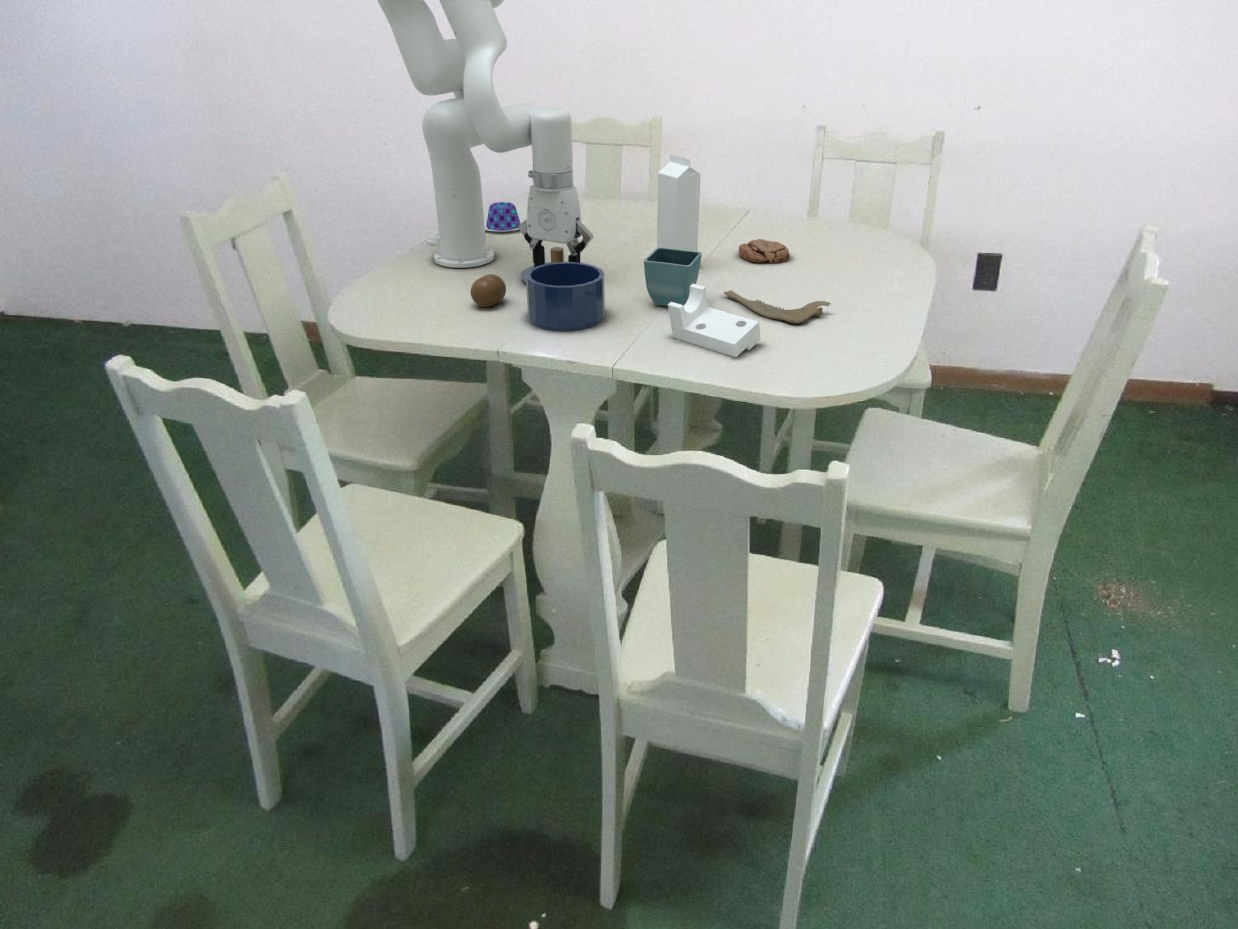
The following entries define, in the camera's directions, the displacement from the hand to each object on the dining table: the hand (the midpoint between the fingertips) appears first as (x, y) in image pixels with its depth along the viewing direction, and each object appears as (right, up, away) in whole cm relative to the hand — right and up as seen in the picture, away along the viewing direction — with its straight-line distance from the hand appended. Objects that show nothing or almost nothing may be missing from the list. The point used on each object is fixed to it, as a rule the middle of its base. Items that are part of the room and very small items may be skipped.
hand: (556, 269), depth 180 cm
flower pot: (+22, -9, -11) cm, 26 cm away
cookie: (+43, +5, +13) cm, 45 cm away
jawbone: (+41, -10, -13) cm, 44 cm away
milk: (+24, +2, +8) cm, 26 cm away
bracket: (+28, -18, -27) cm, 43 cm away
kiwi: (-12, -9, -11) cm, 19 cm away
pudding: (-15, +17, +33) cm, 40 cm away
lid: (0, -1, +1) cm, 1 cm away
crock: (+3, -12, -17) cm, 21 cm away
